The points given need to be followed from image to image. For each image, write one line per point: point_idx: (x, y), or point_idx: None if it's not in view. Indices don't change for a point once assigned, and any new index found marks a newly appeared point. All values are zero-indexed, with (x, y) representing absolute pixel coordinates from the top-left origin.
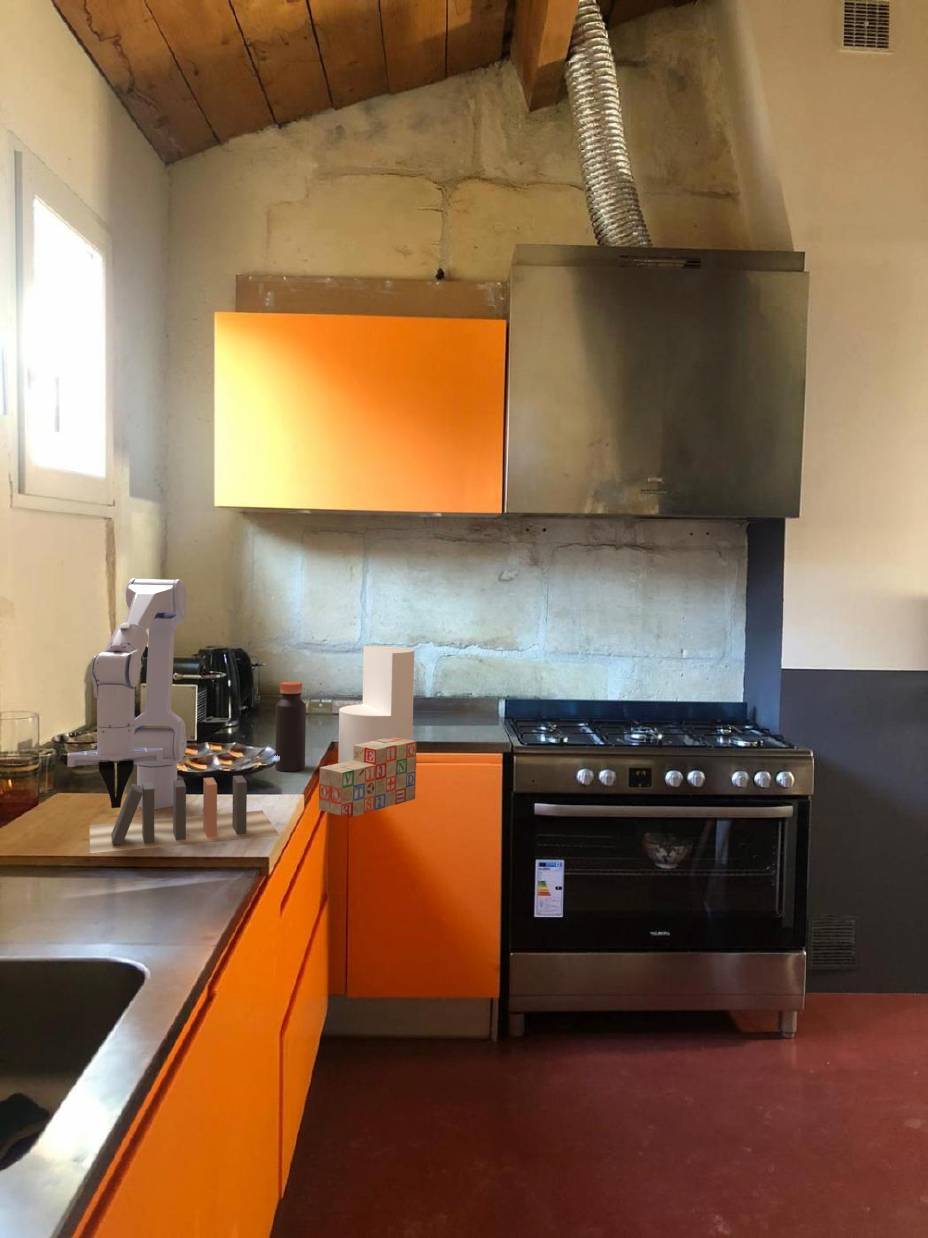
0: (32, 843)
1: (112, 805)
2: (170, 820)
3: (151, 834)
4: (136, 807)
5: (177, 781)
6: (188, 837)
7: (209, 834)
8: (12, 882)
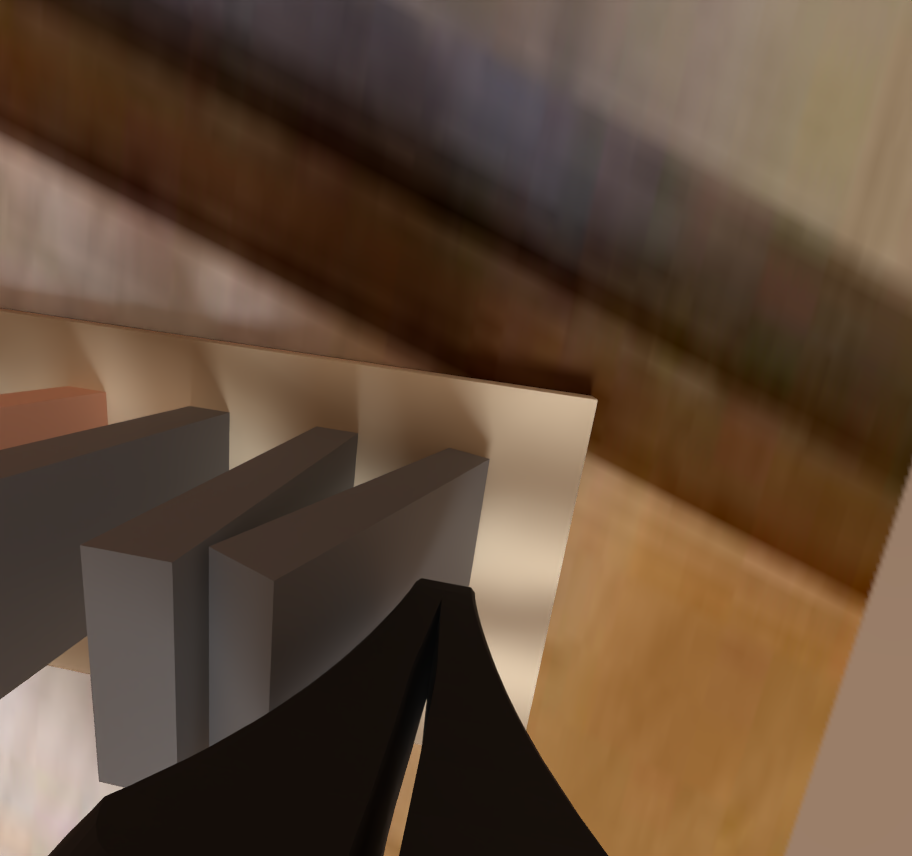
0: (745, 706)
1: (468, 596)
2: None
3: (311, 438)
4: (318, 506)
5: None
6: None
7: (83, 392)
8: None
